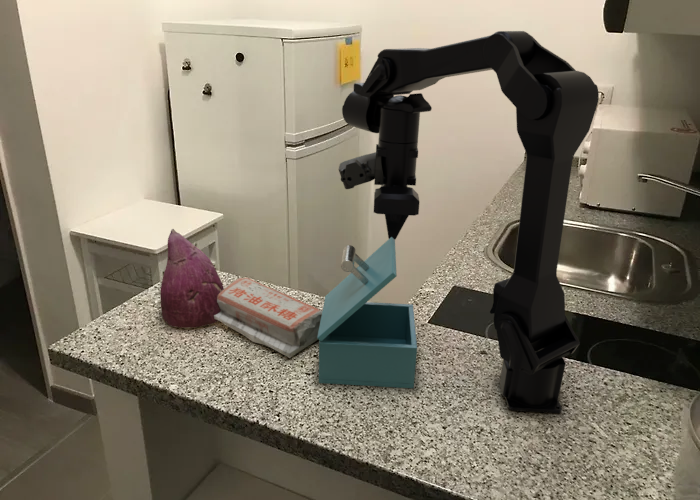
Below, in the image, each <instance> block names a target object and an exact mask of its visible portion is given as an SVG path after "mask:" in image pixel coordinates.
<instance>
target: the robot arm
mask: <svg viewBox="0 0 700 500" xmlns="http://www.w3.org/2000/svg"><path fill="white" fill-rule="evenodd" d="M486 71H493V72H495V74H496V77H497V81H498V84H499V86H500V91H501V93H502V94H503V95H504V96H505V97H506V98H507V99H508V101H510V102H511V104H512V105H513V106H514V107H515V119H516V121H515V122H516V132H517V134H518V137H519V140H520V141H521V144H522V147H523V149H524V151H525V155H526V157H525V158H526V159H525V160H526V162H525V168H524V169H525V170H524V177H523V187H522V194H521V195H522V196H521V204H520V213H519V223H518V231H517V239H516V248H515V257H514V266H513V271H512V273H511V275H510V277H508V278H506V279H503V280H500V281H498V282H495V283H494V285H493V286H494V287H493V288H492V289H493V290H492V296H493V297H492V298H493V300H492V302H493V303H492V307H491V309H490V310H489V313H490V314H492V315H493V326H494V330H495V331H496V337H497V343H498V350H499V356H500V359H502V364H501V369H500V370H501V372H500V377H499V384H498V385H499V388H500V392H501V394H502V397H503V398H505V401H506V405H507V408H508V410H510V411H517V412H519V411H520V412H530V413H531V412H534V413H550V414H561V413H562V410H563V408H562V405H561V402H560V400H559V397H560V393H561V389H562V383H563V378H564V374H565V370H566V361H565V359H564V358H565V357H567V356H569V355H572V354H574V353H575V351H576V350H577V349H578V347H579V346H580V343H581V342H580V340H579V337H578V336H577V334H576V333H575V330H574V329H573V327H572V325H571V323H570V321H569V319H568V318H567V315H566V298H565V297H566V296H565V292H564V289H563V287H562V284H561V283H560V280H559V278H558V275H557V272H558V265H559V264H558V263H559V257H560V250H561V243H562V238H563V237H562V236H563V231H564V230H563V229H564V222H565V215H566V208H567V202H568V201H567V200H568V195H569V194H568V193H569V188H570V181H571V180H570V179H571V174H572V167H573V166H572V165H573V160H574V157H575V155H576V153H577V151H578V150H579V148H580V146H581V145H582V143H583V142H584V140H585V138H586V137H587V135H588V134H589V132H590V129H591V126H592V124H593V120H594V117H595V114H596V111H597V107H598V103H599V99H600V97H599V96H600V95H599V88H598V87H599V86H598V85H597V84H595V82H594V80H593V78H592V77H591V76H590V75H589V74H587V73H585V71H584V72H583V71H581V70H576V69H575V68H574V67H573V66H572V65H571V64H570V63H569V62H568V61H567V60H565V59H563V58H562V57H560V56H559V55H557V54H555V53H554V52H553V51H551V50H549V49H548V48H546V47H544V46H543V45H541V43H539V41H537V40H536V39H535V38H534V36H532V35H531V34H530V33H528V32H527V31H524V30H499V31H496V32H494V33H492V34H490V35H487V36H482V37H477V38H473V39H468V40H465V41H460V42H459V41H458V42H456V43H455V42H454V43H450V44H447V45H442V46H436V47H433V48H427V47H426V48H424V47H423V48H422V47H415V48H413V47H412V48H411V47H410V48H409V47H408V48H406V47H405V48H385V49H382V50H380V51H379V53H377V59H376V61H375V62H374V64H373V66H372V67H371V70H370V72H369V74H368V76H367V77H366V78H365V81H364V82H355V83H353V91H352V92H350V93H349V94H348V95H347V96H346V98H345V100H344V101H343V105H342V108H341V113H342V117H343V120H344V122H345V123H346V124H347V125H348V126H350V127H352V128H356V129H360V130H362V131H366V132H369V133H373V134H378V142H377V144H375V145H376V146H375V151H374V152H372V153H368V154H363V155H360V156H356V157H354V158H350V159H347V160H344V161H342V162H340V163H339V165H338V173H339V176H340V181H341V182H342V184H343V187H344V189H345V190H351V189H354V188H355V187H356V186H359V185H364V184H366V183H369V182H372V181H374V184H373V185H374V186H380V187H379V188H375V190H374V192H373V193H374V196H373V214H377V215H384V218H385V224H386V231H387V237H388V240H389V239H390V238H391V237H392V238H393V239H394V240H395V241H396V240H397V238H398V236H399V235H400V232H401V230H402V229H403V227H404V225H405V223H406V221H407V220H408V218H409V216H417V215H419V212H420V196H419V194H418V192H417V190H416V189H414V188H413V187H414V186H415V187H416V186H417V175H416V172H417V160H418V158H419V147H418V145H419V132H420V129H419V128H420V119H421V118H420V117H421V113H426V112H431V111H432V108H433V107H432V105H431V104H430V103H429V102H428V101H427V99H425V97H424V95H423V93H421V92H417V93H413V92H414V91H422V90H424V89H427V88H429V87H431V86H434V85H436V84H437V83H438V82H440V80H443V79H445V78H450V77H455V76H457V77H458V76H462V75H468V74H476V73H481V72H486ZM407 95H408V96H407ZM410 186H413V187H410Z"/></svg>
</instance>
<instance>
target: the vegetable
mask: <svg viewBox="0 0 700 500" xmlns="http://www.w3.org/2000/svg"><path fill="white" fill-rule="evenodd" d="M223 289H225V287H224V285H223V283H222V279H221V278H220V275H219V273H218V270H217V269H216V267H215V265H214V264H213V262H212V261H211V259H210V258H209V256H208V255H206V253H205V252H203V251H202V250H201V249H200V248H198V247H197V246H196V245H194V244H193V243H192V242H191V241H189V240H188V239H187V238H186V237H185V236H184V235H182V234H180V233H179V232H177V231H176V230H175V229H174V228H171V230H170V233H169V235H168V238H167V260H166V265H165V269H164V271H163V276H162V280H161V284H160V293H159V296H160V309H161V310H160V311H161V317H162V319H163V320H164V322H165V323H166V324H167V325H168V326H170V327H174V328H177V329H178V328H179V329H182V328H183V329H194V328H195V329H196V328H201V327H205V326H209V325H213V324H215V323H217V322H219V321H218V320H216V319H214V315H216V314H218V313H220V312H221V309H220V307H219V305H218V303H217V297H218V294H219V293H220V292H221V291H222V290H223Z"/></svg>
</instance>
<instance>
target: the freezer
mask: <svg viewBox="0 0 700 500" xmlns="http://www.w3.org/2000/svg"><path fill="white" fill-rule="evenodd" d="M415 322H416V321H415V312H414V304H413V303H411V304H410V303H409V304H408V303H392V302H373V301H367V302H366V303H365V304H364V305H363V306H362V307H360V308H359V309H358V310H357V311H356V312H355V313H353V314H352V315H351V316H350V317H349V318H348V319H346V320H345V321H344V322H343V323H342V324H341V325H340V326H338V327H337V328H336V329H335V330H334V331H333V332H331V333H330V334H329V335H328V336H327V337H326V338H324V339H323V340H322V341H320V340H318V384H327V385H346V386H347V385H348V386H362V387H363V386H365V387H379V388H380V387H381V388H402V389H415V376H416V368H417V354H418V343H417V332H416V323H415Z"/></svg>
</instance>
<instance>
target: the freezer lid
mask: <svg viewBox="0 0 700 500" xmlns="http://www.w3.org/2000/svg"><path fill="white" fill-rule="evenodd" d="M356 250H357V249H356V247H355V246H353V245H350V244H348V245H346V246H344V247H343V250H342V257H341V264H340V268H341V269H342V271H343V272H346V273H349V274H348V275H347V276H346V277H345V278H343V279H342V280H341V281H340V282H339V283H337V285H336V286H335V287H334V288H332V289H331V290H330V291H329V292H328V293H327V294H326V295H324V301H323V306H322V316H321V321H320V326H319V331H318V337H317V338H318V341H322V340H323V339H324V338H326V337H327V336H328V335H329V334H330V333H331V332H333V331H334V330H335V329H336V328H337V327H338V326H340V325H341V324H342V323H343V322H344V321H345V320H346V319H348V318H349V317H350V316H351V315H352V314H353V313H355V312H356V311H357V310H358V309H359V308H360V307H362V306H363V305H364V304H365V303H366V302H370V300H371V299H372V298H373V297H375V295H377V294H378V293H380V291H381V290H383V289H384V288H385V287H386V286H387V285H389V284H390V283H391V282H392V281H393V280H394V279H395V278H396V277H397V276H398V275H397V255H396V254H397V253H396V239H395V240H394V239H393V238H392V237H391V238H390V239H389V238H388V239H387V240H386V241H385V242H384V243H383V244H382V245H381V246H380V247H378V248H377V249H376V250H375V251H374V252H372V254H371V255H369V256H368V257H367V258H366V259H365V260H363V258H361V257H360V256H359V255H358V254H357V253H356V252H357V251H356ZM355 263H356V264H357V265H358V266H357V267H356V266H355Z"/></svg>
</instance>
